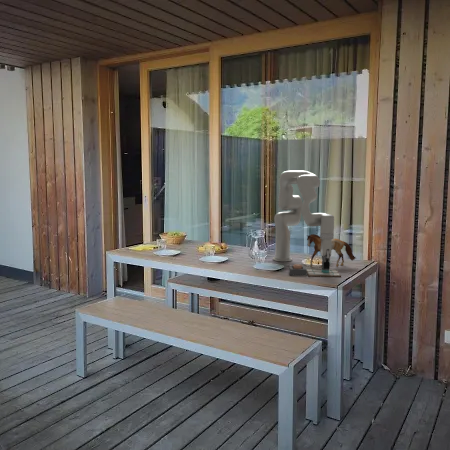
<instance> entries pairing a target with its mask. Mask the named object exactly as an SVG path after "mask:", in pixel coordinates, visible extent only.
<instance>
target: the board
mask: <svg viewBox="0 0 450 450" xmlns="http://www.w3.org/2000/svg"><path fill="white" fill-rule="evenodd" d="M306 269H307V272H306V275H307V276H308V277H309V278H311V277H312V278H313V277H315V278H318V277H319V278H342V275H341V273H340V272H339V271H338V270H337V269H329V273H322V268H320V269H318V268H317V269H315V268H314V269H312V268H310V269H309V268H306ZM320 276H321V277H320ZM333 276H334V277H333Z"/></svg>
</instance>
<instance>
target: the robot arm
mask: <svg viewBox="0 0 450 450" xmlns="http://www.w3.org/2000/svg"><path fill="white" fill-rule="evenodd" d="M293 185H297V187H298V189H299V192H300V195H301V196H300V195H298V194H294V186H293ZM320 185H321V181H320V178H319V176H318V175H316V174H314V173H313V172H310V171H307V170H286V171H282V173H281V174H280V176H279V195H278V208H279V210H281V211H280V212H279V211H278V212H276V214H275V215H274V219H273V220H274V227H275V248H274V249H275V252H274V253H275V254H274V255H275V256H273V257H272V261H276V262H283V263H284V262H285V263H286V262H291V261H292V260H293V258H292V256H291V231H290V229H289V227H293V226H298V225H299V224H300V222H301V219H303V221H304V223H305V225H307V226H308V227H319V228H320V229H319V233H320V234H319V236H320V239H321V251H320V252H319V253H320V255H321V257H322V256H323V257H324V269H329V268H330V267H331V266H330V265H331V256H332V250H331V249H332V239H335V236H334V235H335V216H334V215H333V214H328V213H325V212H313V213H312V212H311V210H310V204H311V203H313V202H315V201H316V200H317V199H318V194H317V192H316V190H315V189H317V188H319V187H320ZM301 197H302V198H301ZM325 255H327V256H325ZM329 270H330V269H329Z"/></svg>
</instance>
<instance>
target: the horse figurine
mask: <svg viewBox="0 0 450 450" xmlns="http://www.w3.org/2000/svg"><path fill="white" fill-rule="evenodd" d="M306 237H307V239H306V240H307V246H308V247H311V245H312V243H313V244H314V245H313V254H312V256H311V257H310V258H311V259H310V263H309V264H310V265H311V266H310V267H313V266H314V265H313V260H314V257H315V256H317V254H318V253H320V251H321V239H320V235H319V234H314V233H312V234H310V235H306ZM344 247H345V248H344ZM343 248H344V249H345V252H346V254H347V256H348V257H349V258H348V259H349V260H351V261H352V262H353V261H354V260H355V259H357V257H355V256H354V254H353V250H352V247H351V246H350V244H349V243H347V242H346V241H344V240H341V239H339V238H334V239H332V249H331V251H333V250H334V252H335V253H336V254H337V255H338V258H337V260H336V264H335V267H339V265H340V266H344V263H345V259H344V254H343V252H342V250H343ZM340 259H341V264H339V263H340ZM320 268H322V264H321V265H320Z"/></svg>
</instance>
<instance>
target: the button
mask: <svg viewBox="0 0 450 450" xmlns="http://www.w3.org/2000/svg"><path fill="white" fill-rule="evenodd" d="M292 266H293V269H302V266H303V265H302V264H298V263H294V264H293V265H292Z"/></svg>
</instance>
